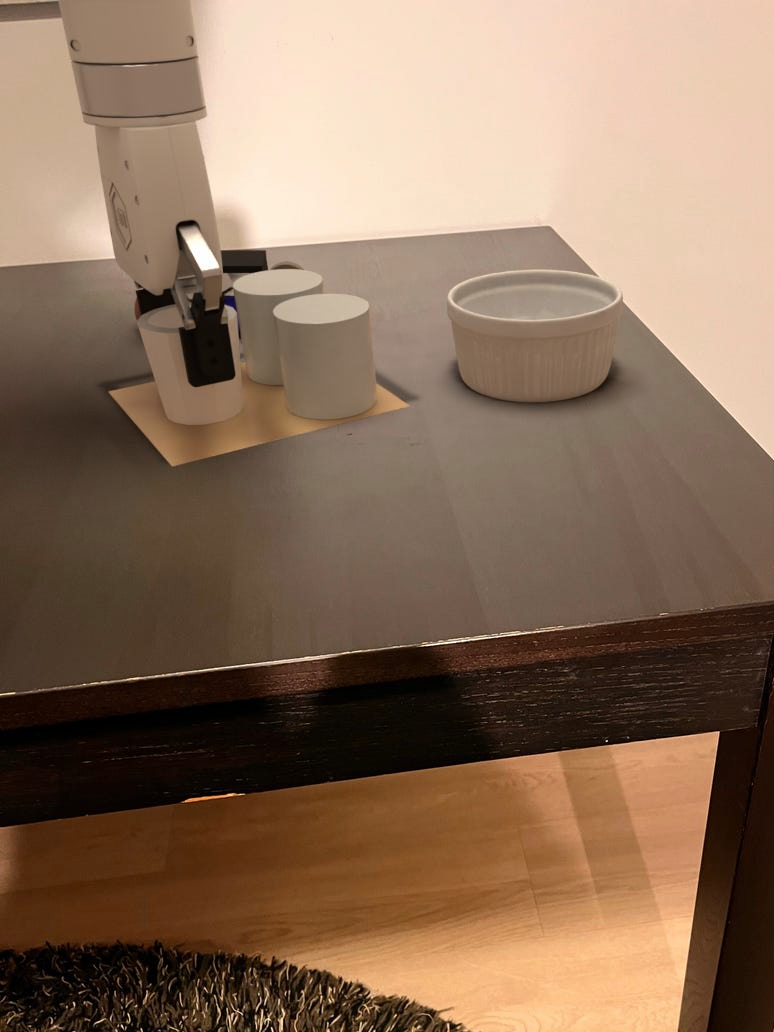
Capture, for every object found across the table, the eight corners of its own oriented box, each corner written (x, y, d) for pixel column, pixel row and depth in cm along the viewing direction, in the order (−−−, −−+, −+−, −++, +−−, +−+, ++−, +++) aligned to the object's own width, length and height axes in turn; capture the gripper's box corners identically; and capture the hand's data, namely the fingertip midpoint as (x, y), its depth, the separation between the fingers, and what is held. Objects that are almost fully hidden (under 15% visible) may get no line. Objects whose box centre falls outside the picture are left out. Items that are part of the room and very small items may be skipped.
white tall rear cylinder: (266, 392, 77) (252, 300, 73) (234, 366, 82) (219, 278, 78) (346, 374, 80) (337, 284, 76) (311, 349, 85) (301, 264, 81)
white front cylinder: (308, 427, 72) (295, 329, 68) (272, 397, 76) (258, 304, 72) (393, 406, 74) (386, 311, 70) (353, 378, 79) (344, 287, 75)
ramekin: (436, 360, 84) (432, 274, 80) (589, 346, 86) (593, 261, 82) (468, 423, 73) (465, 327, 69) (641, 404, 75) (648, 311, 71)
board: (173, 474, 67) (171, 466, 67) (109, 398, 79) (107, 391, 78) (410, 413, 75) (410, 405, 74) (321, 352, 86) (320, 345, 86)
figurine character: (309, 332, 95) (142, 325, 92) (309, 248, 90) (134, 238, 88) (309, 357, 89) (132, 350, 87) (309, 269, 85) (122, 259, 82)
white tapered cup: (231, 431, 71) (214, 333, 67) (140, 426, 72) (118, 329, 68) (264, 394, 77) (250, 301, 73) (180, 390, 78) (161, 298, 74)
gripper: (47, 82, 67) (104, 336, 77) (119, 115, 55) (176, 412, 65) (158, 74, 70) (200, 319, 80) (249, 104, 58) (285, 388, 68)
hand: (189, 361), depth 73 cm, fingers open, 9 cm apart
